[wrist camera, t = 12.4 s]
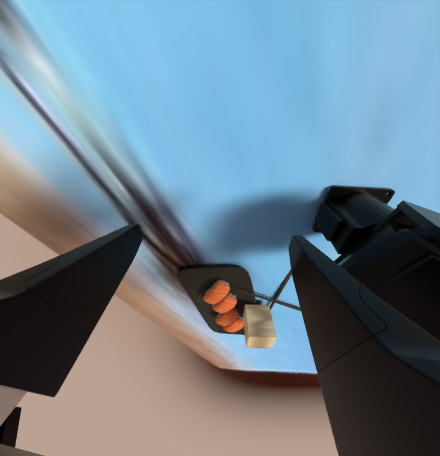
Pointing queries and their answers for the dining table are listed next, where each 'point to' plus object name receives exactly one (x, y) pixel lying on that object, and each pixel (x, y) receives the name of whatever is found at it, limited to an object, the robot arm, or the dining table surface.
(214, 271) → the sushi plate
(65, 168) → the dining table surface
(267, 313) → the birch block
